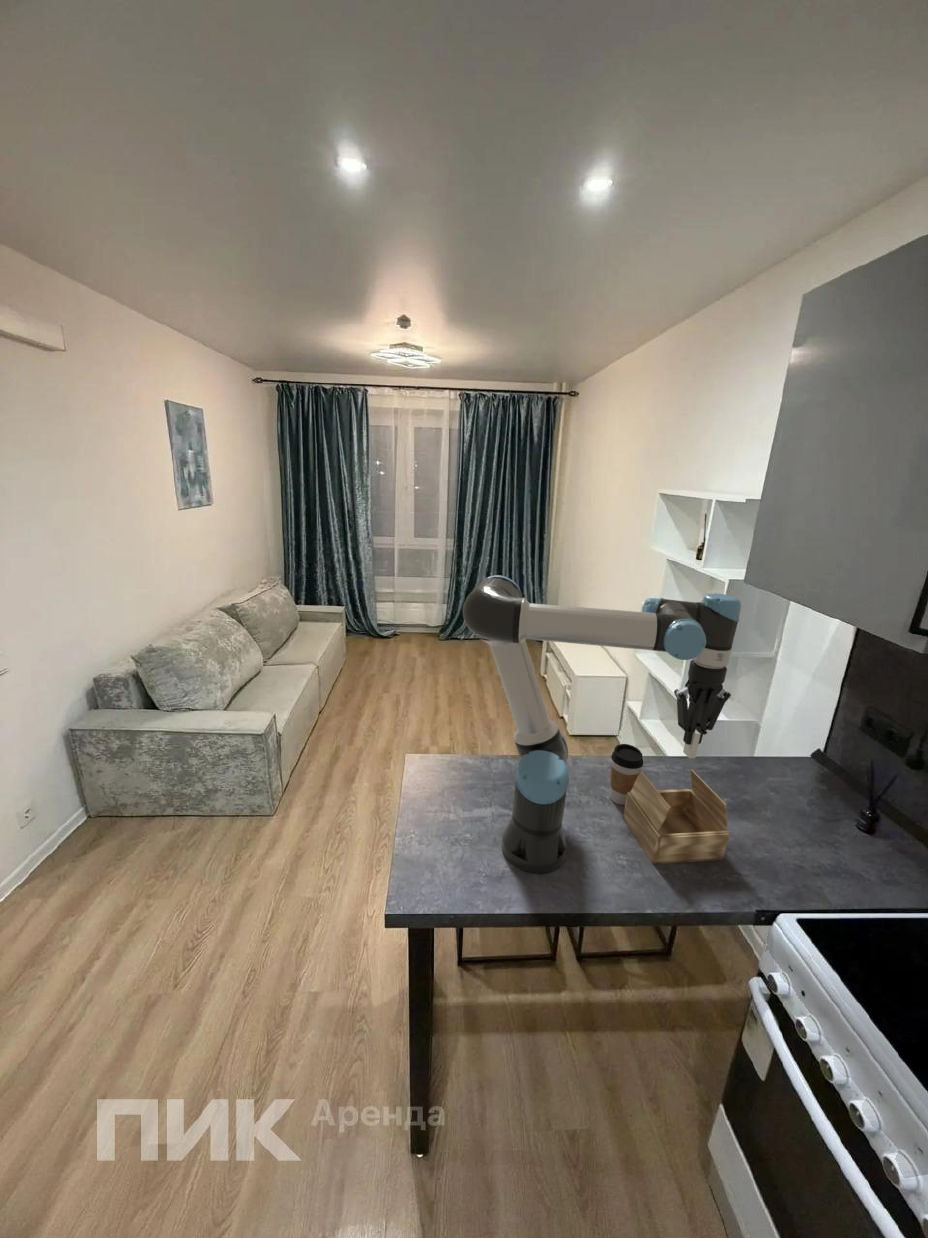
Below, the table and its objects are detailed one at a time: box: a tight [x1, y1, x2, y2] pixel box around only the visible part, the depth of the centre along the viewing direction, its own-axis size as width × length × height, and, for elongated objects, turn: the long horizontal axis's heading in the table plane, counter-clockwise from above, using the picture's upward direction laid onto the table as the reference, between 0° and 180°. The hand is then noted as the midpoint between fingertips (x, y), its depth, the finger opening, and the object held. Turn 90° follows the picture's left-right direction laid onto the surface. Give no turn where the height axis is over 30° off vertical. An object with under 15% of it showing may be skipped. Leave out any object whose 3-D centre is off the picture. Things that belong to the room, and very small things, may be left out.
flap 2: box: [690, 768, 728, 828], centre depth 123 cm, size 1×14×6 cm, turn 8°
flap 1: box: [630, 771, 671, 831], centre depth 121 cm, size 1×14×6 cm, turn 9°
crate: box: [622, 788, 731, 865], centre depth 124 cm, size 18×17×8 cm
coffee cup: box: [609, 743, 644, 806], centre depth 138 cm, size 8×8×15 cm
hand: (689, 755), depth 119 cm, fingers closed
